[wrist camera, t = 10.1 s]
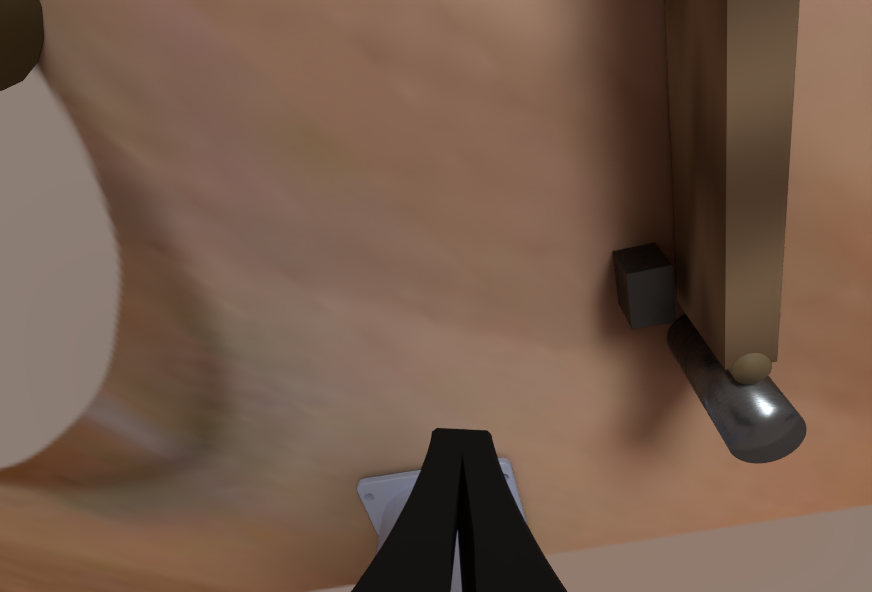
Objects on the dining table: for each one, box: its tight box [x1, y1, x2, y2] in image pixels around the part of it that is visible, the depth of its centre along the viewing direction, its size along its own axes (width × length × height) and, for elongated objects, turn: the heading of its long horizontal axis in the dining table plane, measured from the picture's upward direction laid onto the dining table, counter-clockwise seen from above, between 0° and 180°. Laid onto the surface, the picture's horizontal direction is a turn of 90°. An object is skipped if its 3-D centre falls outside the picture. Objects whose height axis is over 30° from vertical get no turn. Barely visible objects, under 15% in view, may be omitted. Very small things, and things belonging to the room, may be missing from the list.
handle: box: [665, 0, 800, 385], centre depth 17 cm, size 13×2×5 cm, turn 14°
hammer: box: [613, 243, 806, 463], centre depth 16 cm, size 22×4×6 cm, turn 15°
